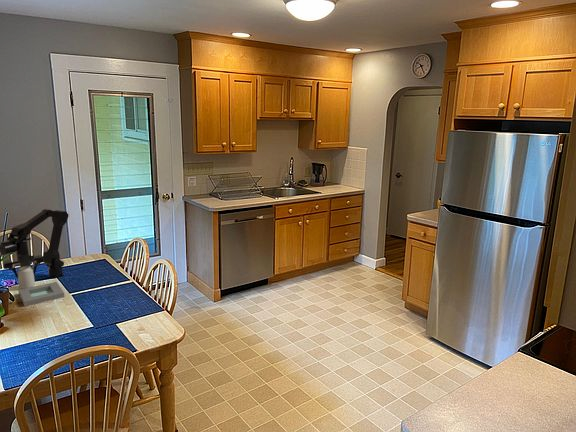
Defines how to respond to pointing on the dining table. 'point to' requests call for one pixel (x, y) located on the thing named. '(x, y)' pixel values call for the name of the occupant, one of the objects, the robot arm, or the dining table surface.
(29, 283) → the can
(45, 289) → the pocket frame
